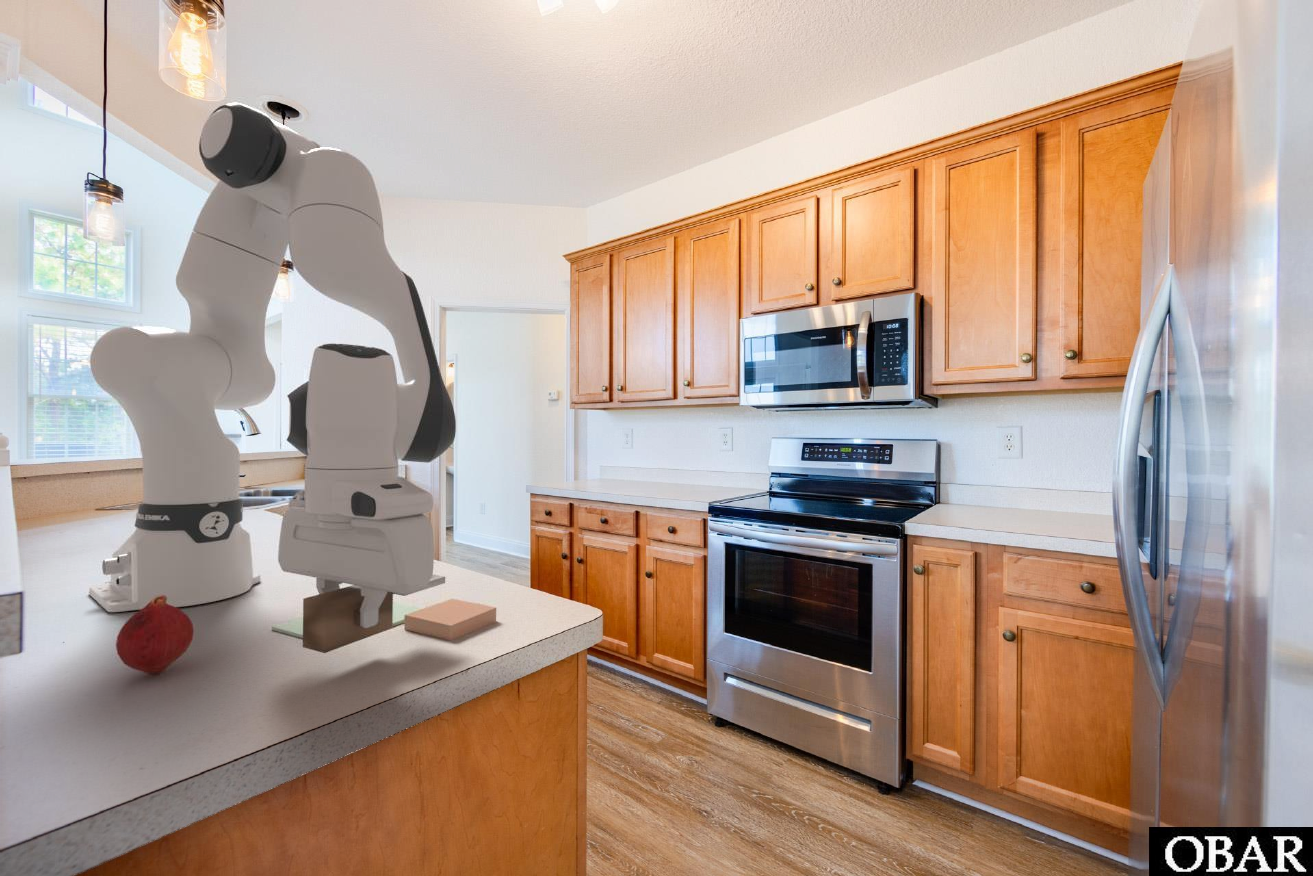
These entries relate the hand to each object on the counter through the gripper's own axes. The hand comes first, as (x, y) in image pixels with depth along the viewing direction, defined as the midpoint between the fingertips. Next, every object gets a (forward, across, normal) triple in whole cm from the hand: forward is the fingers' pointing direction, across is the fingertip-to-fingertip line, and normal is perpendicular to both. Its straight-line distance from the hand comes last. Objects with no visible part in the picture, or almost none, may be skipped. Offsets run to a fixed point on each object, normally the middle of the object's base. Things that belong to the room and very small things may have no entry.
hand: (350, 622), depth 60 cm
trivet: (+5, -12, +10) cm, 16 cm away
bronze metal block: (+2, 0, +3) cm, 3 cm away
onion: (+5, -15, -10) cm, 19 cm away
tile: (+4, 0, +10) cm, 11 cm away
